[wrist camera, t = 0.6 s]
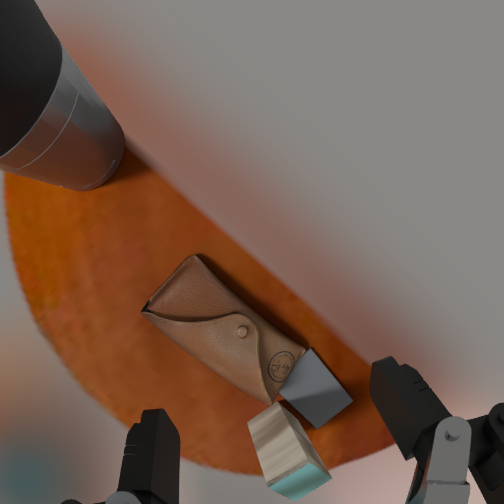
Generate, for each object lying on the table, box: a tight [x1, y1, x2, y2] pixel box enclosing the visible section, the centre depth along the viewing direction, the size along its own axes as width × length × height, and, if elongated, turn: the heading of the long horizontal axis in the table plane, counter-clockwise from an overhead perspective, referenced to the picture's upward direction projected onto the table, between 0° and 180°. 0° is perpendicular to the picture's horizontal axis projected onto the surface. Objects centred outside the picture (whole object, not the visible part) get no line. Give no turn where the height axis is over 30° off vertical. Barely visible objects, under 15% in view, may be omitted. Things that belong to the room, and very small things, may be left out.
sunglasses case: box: [141, 255, 306, 406], centre depth 30 cm, size 18×7×7 cm, turn 48°
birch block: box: [247, 401, 332, 501], centre depth 28 cm, size 5×5×12 cm
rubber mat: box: [279, 348, 353, 429], centre depth 34 cm, size 12×6×1 cm, turn 37°
